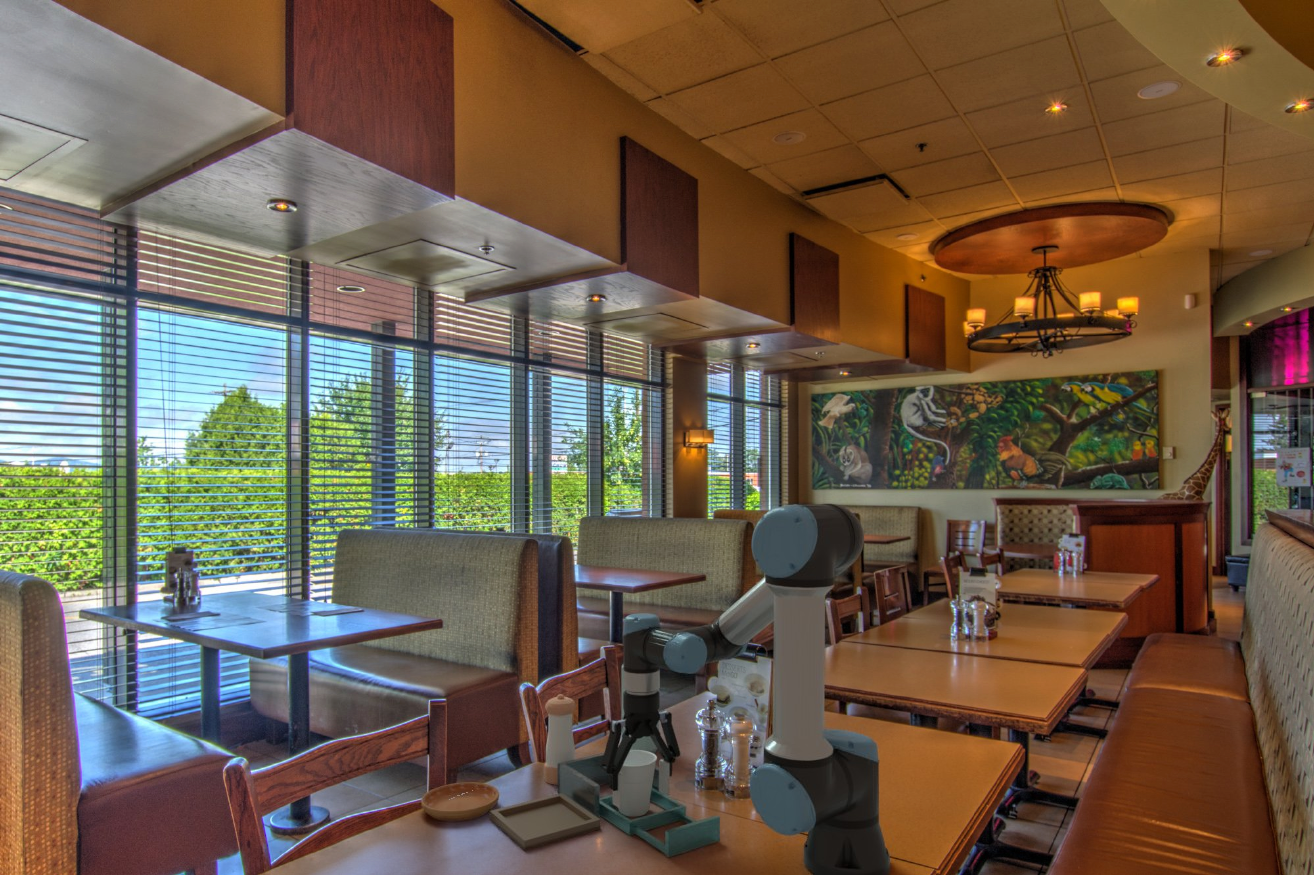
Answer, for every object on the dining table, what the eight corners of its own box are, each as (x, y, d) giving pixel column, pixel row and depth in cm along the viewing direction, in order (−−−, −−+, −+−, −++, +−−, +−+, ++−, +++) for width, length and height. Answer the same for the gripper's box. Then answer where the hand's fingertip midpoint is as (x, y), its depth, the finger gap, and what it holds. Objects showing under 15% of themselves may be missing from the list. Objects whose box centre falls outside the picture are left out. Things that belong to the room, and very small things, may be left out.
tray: (600, 828, 161) (600, 819, 161) (524, 850, 152) (524, 840, 152) (561, 801, 174) (561, 792, 174) (489, 819, 165) (489, 810, 165)
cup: (653, 822, 164) (653, 767, 164) (604, 819, 165) (605, 764, 166) (660, 803, 173) (660, 750, 174) (615, 800, 175) (615, 748, 175)
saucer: (418, 801, 175) (418, 786, 176) (492, 790, 181) (492, 777, 181) (424, 831, 161) (424, 815, 161) (505, 819, 166) (505, 804, 166)
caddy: (723, 840, 155) (723, 815, 156) (664, 859, 148) (664, 833, 148) (648, 796, 177) (648, 775, 177) (594, 811, 169) (594, 788, 169)
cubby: (662, 800, 175) (662, 769, 175) (594, 818, 165) (594, 786, 166) (623, 777, 188) (623, 748, 189) (557, 793, 179) (557, 763, 179)
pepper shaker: (579, 782, 185) (580, 696, 186) (548, 786, 183) (549, 700, 184) (571, 771, 192) (571, 689, 193) (540, 775, 189) (541, 692, 190)
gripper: (676, 678, 177) (676, 781, 176) (583, 694, 164) (582, 806, 163) (697, 685, 171) (697, 792, 170) (602, 703, 158) (601, 819, 157)
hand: (641, 799), depth 167 cm, fingers open, 11 cm apart
